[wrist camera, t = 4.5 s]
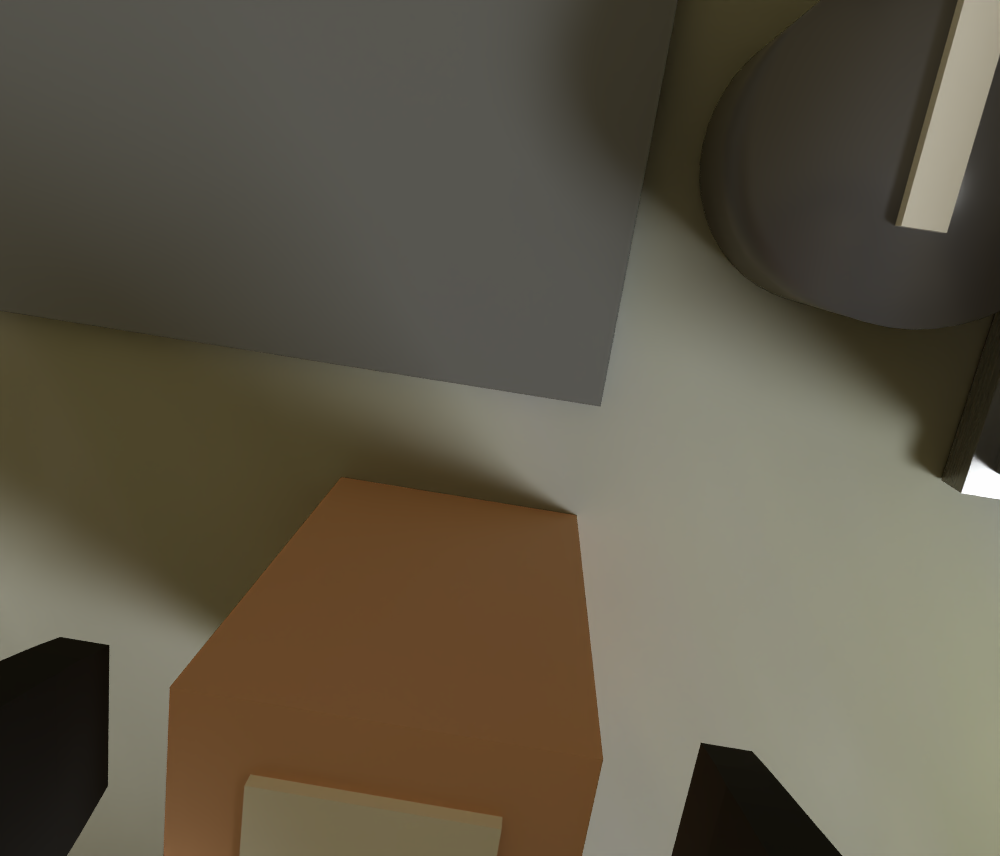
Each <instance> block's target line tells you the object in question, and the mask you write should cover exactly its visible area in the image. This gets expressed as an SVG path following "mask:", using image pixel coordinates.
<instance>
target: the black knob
mask: <svg viewBox="0 0 1000 856" xmlns="http://www.w3.org/2000/svg"><path fill="white" fill-rule="evenodd" d="M700 190H701V199H702V204H703V208H704V212H705V216H706V220H707V222H708V225H709V227H710V230H711V232H712V235H713V236H714V238H715V240H716V242H717V244H718V245H719V247H720V249H721V250H722V252H723V253H724V254H725V256H726V257H727V258H728V260H729V261H730V262H731V263H732V264H733V265H734V266H735V267H736V268H737V269H738V270H739V271H740V272H741V273H742V274H743V275H744V276H745V277H747V278H748V279H749V280H751V281H752V282H753V283H755V284H756V285H758V286H760V287H761V288H763V289H765V290H767V291H769V292H771V293H773V294H776V295H778V296H781V297H784V298H786V299H789V300H793V301H796V302H800V303H803V304H806V305H810V306H813V307H817V308H820V309H823V310H827V311H830V312H834V313H837V314H840V315H844V316H847V317H850V318H854V319H857V320H861V321H864V322H867V323H872V324H876V325H881V326H885V327H890V328H902V329H936V328H942V327H948V326H955V325H960V324H964V323H967V322H971V321H974V320H978V319H981V318H984V317H987V316H989V315H991V314H994V313H996V312H999V311H1000V0H821V1H819V2H818V3H817V4H816V5H815V6H813V7H812V8H811V9H810V10H808V11H807V12H806V13H805V14H804V15H802V16H801V17H800V18H799V19H798V20H796V21H795V22H794V23H793V24H791V25H790V26H789V27H788V28H787V29H785V30H784V31H783V32H782V33H780V34H779V35H778V36H777V37H776V38H774V39H773V40H772V41H771V42H770V43H768V44H767V45H766V46H765V47H764V48H762V49H761V50H760V51H759V52H758V53H757V54H755V55H754V56H753V57H752V58H751V59H750V60H749V61H748V62H747V63H746V64H745V65H744V66H743V67H742V69H741V70H740V71H739V72H738V73H737V74H736V75H735V77H734V78H733V80H732V81H731V82H730V84H729V85H728V87H727V88H726V89H725V91H724V93H723V95H722V96H721V98H720V100H719V102H718V104H717V106H716V107H715V110H714V112H713V115H712V117H711V119H710V122H709V124H708V127H707V131H706V135H705V138H704V142H703V146H702V153H701V160H700Z"/></svg>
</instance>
